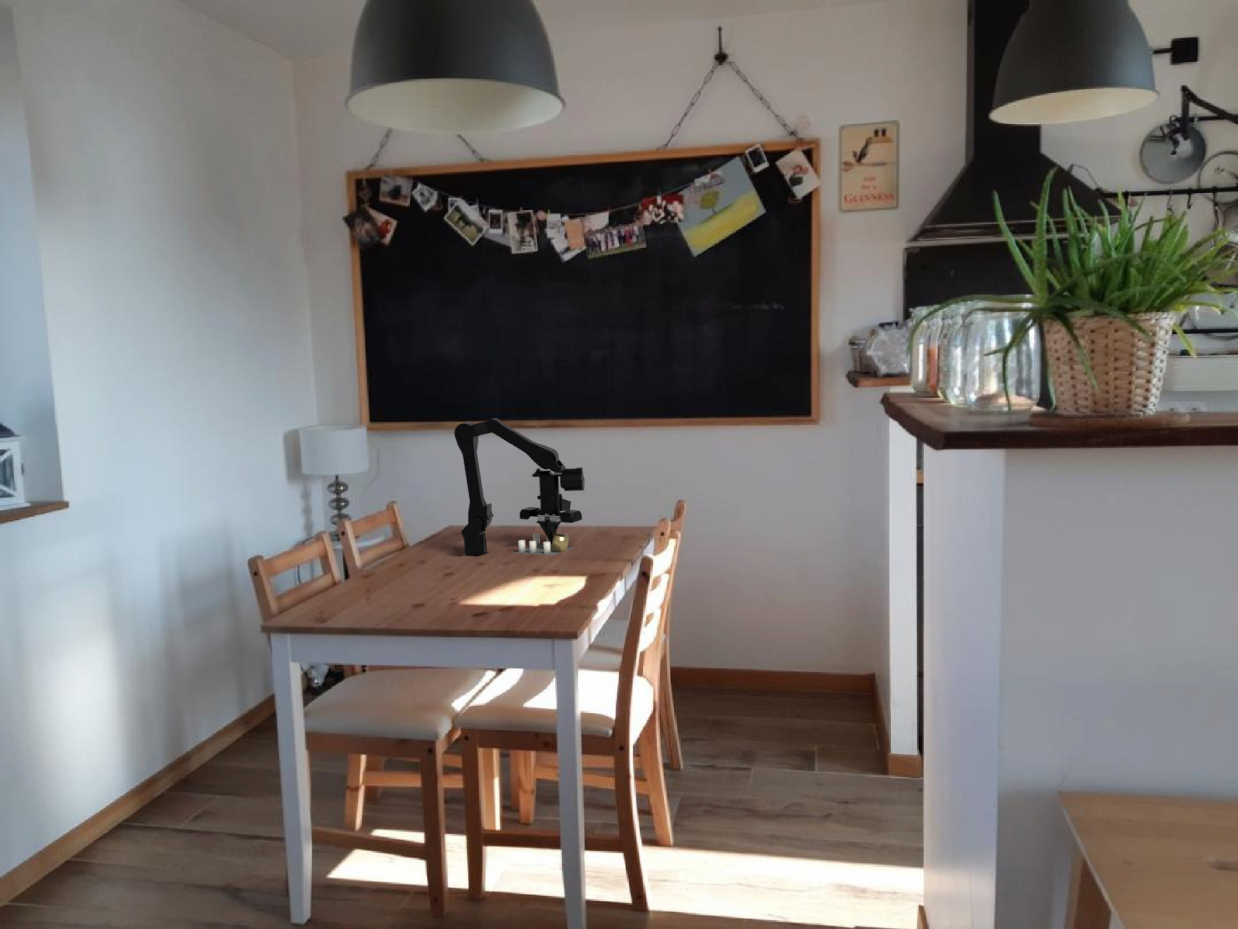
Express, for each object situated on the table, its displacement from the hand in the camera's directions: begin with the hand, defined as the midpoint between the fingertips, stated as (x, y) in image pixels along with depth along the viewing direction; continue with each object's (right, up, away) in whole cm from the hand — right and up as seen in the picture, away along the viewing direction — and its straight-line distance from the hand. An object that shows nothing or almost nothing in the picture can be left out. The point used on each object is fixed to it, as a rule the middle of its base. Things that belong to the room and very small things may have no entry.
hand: (551, 543), depth 280 cm
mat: (-2, -2, +2) cm, 4 cm away
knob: (+2, -2, -1) cm, 3 cm away
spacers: (-3, -2, +2) cm, 4 cm away
